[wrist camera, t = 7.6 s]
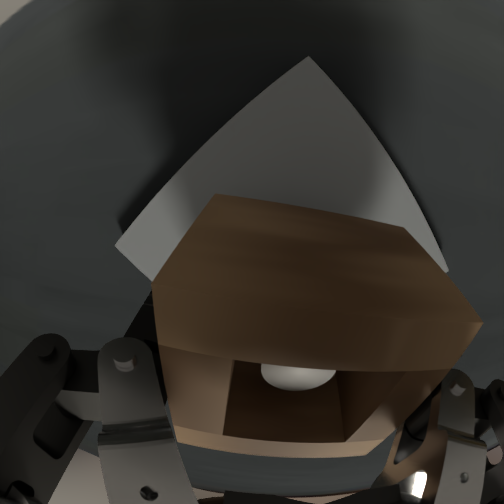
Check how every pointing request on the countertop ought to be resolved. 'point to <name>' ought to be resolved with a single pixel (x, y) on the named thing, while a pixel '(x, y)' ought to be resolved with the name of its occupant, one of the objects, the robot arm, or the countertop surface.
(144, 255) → the post board
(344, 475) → the countertop surface
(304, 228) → the wooden square frame
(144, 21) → the countertop surface
